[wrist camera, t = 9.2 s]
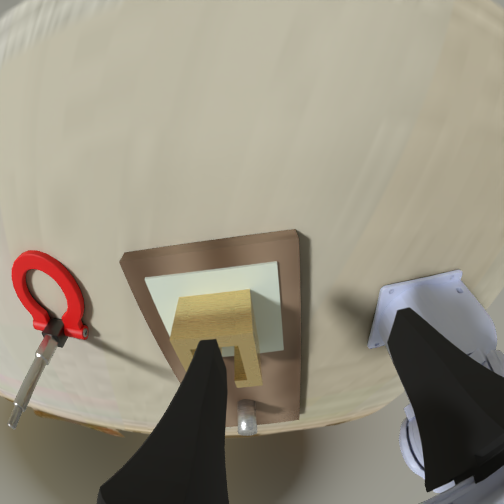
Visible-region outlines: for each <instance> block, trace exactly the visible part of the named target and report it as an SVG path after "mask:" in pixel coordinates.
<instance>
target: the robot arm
mask: <svg viewBox="0 0 504 504" xmlns="http://www.w3.org/2000/svg"><path fill="white" fill-rule="evenodd" d="M461 277H462V271H461V270H460V269H458V270H454V271H450V272H446V273H441V274H437V275H433V276H428V277H424V278H419V279H414V280H410V281H405V282H400V283H395V284H390V285H385V286H383V287H382V288H381V290H380V293H379V298H378V303H377V307H376V312H375V316H374V320H373V324H372V328H371V332H370V336H369V340H368V344H367V346H368V348H370V349H372V348H376V347H380V346H384V345H385V346H386V348H387V350H388V353H389V355H390V357H391V359H392V361H393V364H394V366H395V368H396V370H397V373H398V375H399V377H400V380H401V382H402V384H403V387H404V389H405V392H406V394H407V397H408V399H409V401H410V404H409V405H407V406H406V407H405V408H404V410H405V413H406V416H407V417H406V418H405V419H404V421H403V422H402V425H401V429H400V435H399V443H400V449H401V452H402V456H403V458H404V460H405V462H406V464H407V465H408V467H409V468H410V469H411V470H412V471H413V472H414V473H416V474H418V475H419V476H421V477H422V478H423V479H424V480H425V487H426V491H427V492H430V491H432V490H433V491H434V492H436V493H440V494H438V495H436V496H434V497H432V498H430V499H428V500H426V501H424V502H421V503H419V504H504V354H503V353H502V352H501V351H500V350H496V345H497V334H496V329H495V326H494V323H493V321H492V319H491V317H490V316H489V314H488V313H487V312H486V310H485V309H484V308H483V307H482V305H481V304H480V303H479V301H478V300H477V299H476V298H475V297H474V295H473V294H472V293H471V292H470V290H469V289H468V288H467V287H466V286H465V285H464V283H463V282H462V281H461ZM391 289H392V290H391ZM390 290H391V291H390ZM227 395H228V389H227V369H226V366H225V363H224V360H223V357H222V354H221V352H220V349H219V346H218V342H217V339H210V340H200V341H199V343H198V345H197V348H196V351H195V353H194V356H193V358H192V361H191V363H190V365H189V367H188V370H187V372H186V374H185V376H184V378H183V380H182V382H181V384H180V386H179V388H178V390H177V392H176V394H175V396H174V398H173V400H172V401H171V403H170V405H169V407H168V408H167V410H166V412H165V413H164V415H163V417H162V418H161V420H160V421H159V423H158V424H157V426H156V427H155V429H154V430H153V431H152V433H151V434H150V435H149V437H148V438H147V439H146V441H145V442H144V443H143V445H142V446H141V447H140V448H139V449H138V451H137V452H136V453H135V454H134V455H133V456H132V457H131V458H130V459H129V461H127V463H126V464H125V465H124V466H123V467H122V468H121V469H120V470H119V471H118V472H116V473H115V474H114V475H113V476H112V477H111V478H110V479H109V480H108V481H106V482H105V483H104V484H103V485H102V486H101V487H100V489H99V493H98V498H97V504H229V500H228V491H227V480H226V468H225V451H224V445H225V425H226V410H227Z"/></svg>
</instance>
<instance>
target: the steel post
mask: <svg viewBox="0 0 504 504" xmlns="http://www.w3.org/2000/svg"><path fill="white" fill-rule="evenodd" d="M237 413H238V433H239V434H240V435H254V434H256V433H257V421H256V406H255V401H254V400H251V399H242V400H240V401H238V402H237Z"/></svg>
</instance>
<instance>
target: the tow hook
mask: <svg viewBox="0 0 504 504" xmlns="http://www.w3.org/2000/svg"><path fill="white" fill-rule="evenodd" d="M30 269H38V270H40V271H43V272H45V273H46V274H48V275H49V276H51V277H52V278H53V279H54V280H55V281H56V282H57V283H58V285H59V286H60V287H61V289H62V290H63V292H64V294H65V296H66V299H67V304H68V309H67V312H65V313H64V315H63V316H62V320H58V319H50V317H49V315H48V313H47V311H46V310H45V309H44V308H42V307H41V306H40V305H39V304H38V303H37V302H36V301H35V300H34V299H33V297H32V296H31V294H30V292H29V290H28V288H27V285H26V273H27V270H30ZM12 281H13V286H14V289H15V291H16V293H17V296H18V298H19V299H20V301H21V302H22V304H23V305H24V307H25V308H26V309H27V310H28V311H29V312H30V314H32V317H33V319H34V320H33V326H34V328H35V329H36V330H41V331H43V332H42V335H43V337H44V339H43V341H42V342H41V344H40V346H39V347H38V349H37V351H36V353H35V357H36V358H35V359H34V361H33V363H32V365H31V367H30V369H29V371H28V373H27V375H26V377H25V379H24V381H23V383H22V385H21V387H20V389H19V391H18V394H17V396H16V398H15V400H14V403H13V404H14V405H15V406H14V409H13V411H12V414H11V416H10V419H9V421H8V426H10V427H11V428H13V429H16V426H17V423H18V421H19V418H20V416H21V413H22V411H25V410H26V407H27V405H28V403H29V400H30V398H31V396H32V393H33V391H34V389H35V387H36V384H37V382H38V380H39V378H40V376H41V374H42V372H43V370H44V368H45V366H46V365H48V364H49V362H50V360H51V358H52V356H53V354H54V352H55V350H56V349H57V347H62V348H63V346H64V344H65V342H66V340H67V338H68V337H73V338H78V339H84V340H86V339H87V337H88V327H87V326H86V325H83V324H82V321H81V318H82V316H83V313H84V299H83V296H82V293H81V290H80V288H79V286H78V285H77V283H76V281H75V279H74V278H73V276H72V275H71V274H70V273H69V271H68V270H67V269H66V268H65V267H64V266H63V265H62V264H61V263H60V262H58V261H57V260H56V259H55V258H53V257H51V256H50V255H48V254H46V253H43V252H40V251H31V250H29V251H26V252H24V253H22V254H21V255H20V256H19V257H18V258H17V259H16V260H15V261H14V264H13V267H12Z"/></svg>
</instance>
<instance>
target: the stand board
mask: <svg viewBox="0 0 504 504" xmlns="http://www.w3.org/2000/svg"><path fill="white" fill-rule="evenodd" d="M274 261H277V268H278V280H279V292H280V305H281V318H282V331H283V346H284V350H281V351H274V352H266V353H260V358H261V370H262V381H263V385H262V386H252V387H242V388H237V387H236V384H235V373H234V356H227V357H223V360H224V363H225V366H226V369H227V389H228V395H227V410H226V425H225V427H233V426H238V413H237V402H238V401H240V400H242V399H251V400H254V401H255V406H256V421H257V425H260V424H270V423H278V422H286V421H293V420H299V410H300V375H301V293H300V257H299V237H298V235H297V232H296V230H295V229H293V230H285V231H277V232H269V233H261V234H254V235H246V236H238V237H231V238H223V239H216V240H209V241H202V242H194V243H187V244H180V245H173V246H166V247H159V248H153V249H146V250H139V251H133V252H126V253H124V255H123V257H122V258H121V260H120V265H121V267H122V270H123V272H124V274H125V277H126V279H127V281H128V284H129V286H130V288H131V290H132V293H133V295H134V297H135V299H136V301H137V303H138V305H139V308H140V310H141V312H142V314H143V316H144V318H145V320H146V322H147V324H148V326H149V328H150V330H151V332H152V334H153V336H154V337H155V339H156V341H157V343H158V345H159V347H160V349H161V351H162V352H163V354H164V356H165V358H166V360H167V361H168V363H169V365H170V367H171V368H172V370H173V372H174V373H175V375H176V377H177V379H178V380H179V382H180V384H181V382H182V380H183V378H184V376H185V374H186V371H185V369H184V367H183V366H182V364H181V362H180V360H179V358H178V356H177V354H176V352H175V350H174V348H173V346H172V344H171V342H170V336H169V334H168V332H167V330H166V328H165V325H164V323H163V321H162V319H161V317H160V315H159V312H158V310H157V308H156V305H155V303H154V301H153V299H152V296H151V294H150V291H149V289H148V287H147V284H146V282H145V277H153V276H162V275H170V274H179V273H187V272H195V271H203V270H212V269H220V268H228V267H236V266H243V265H251V264H259V263H267V262H274Z"/></svg>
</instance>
